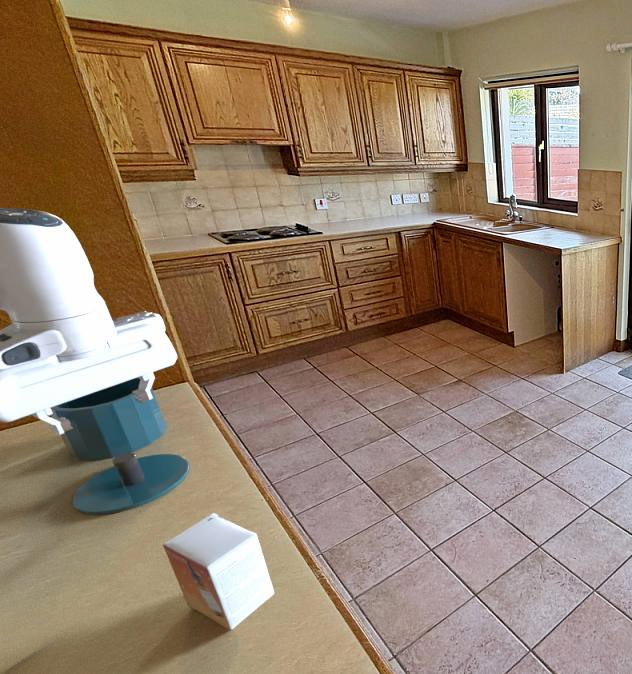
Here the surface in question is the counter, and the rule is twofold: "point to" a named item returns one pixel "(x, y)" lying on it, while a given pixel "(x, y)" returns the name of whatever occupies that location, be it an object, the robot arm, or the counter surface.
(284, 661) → the counter surface
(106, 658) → the counter surface
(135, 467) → the lid
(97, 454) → the canister
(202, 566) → the small box
